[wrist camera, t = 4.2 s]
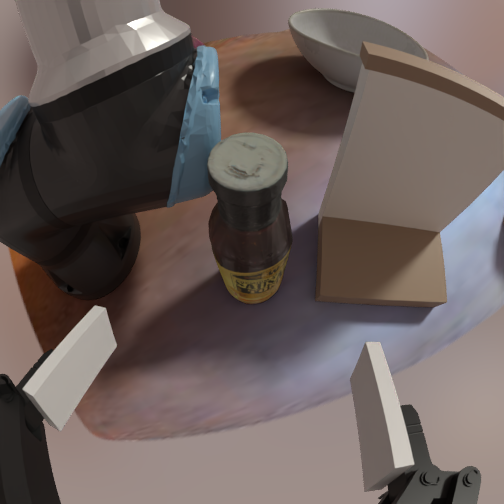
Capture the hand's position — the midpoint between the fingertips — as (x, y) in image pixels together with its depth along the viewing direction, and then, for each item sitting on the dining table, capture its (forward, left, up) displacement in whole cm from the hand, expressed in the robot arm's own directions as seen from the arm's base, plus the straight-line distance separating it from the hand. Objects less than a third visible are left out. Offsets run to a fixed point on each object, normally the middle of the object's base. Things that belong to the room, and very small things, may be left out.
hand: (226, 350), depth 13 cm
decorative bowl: (-26, +47, -17) cm, 57 cm away
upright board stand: (+2, +19, -17) cm, 25 cm away
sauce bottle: (-6, +6, -17) cm, 19 cm away
